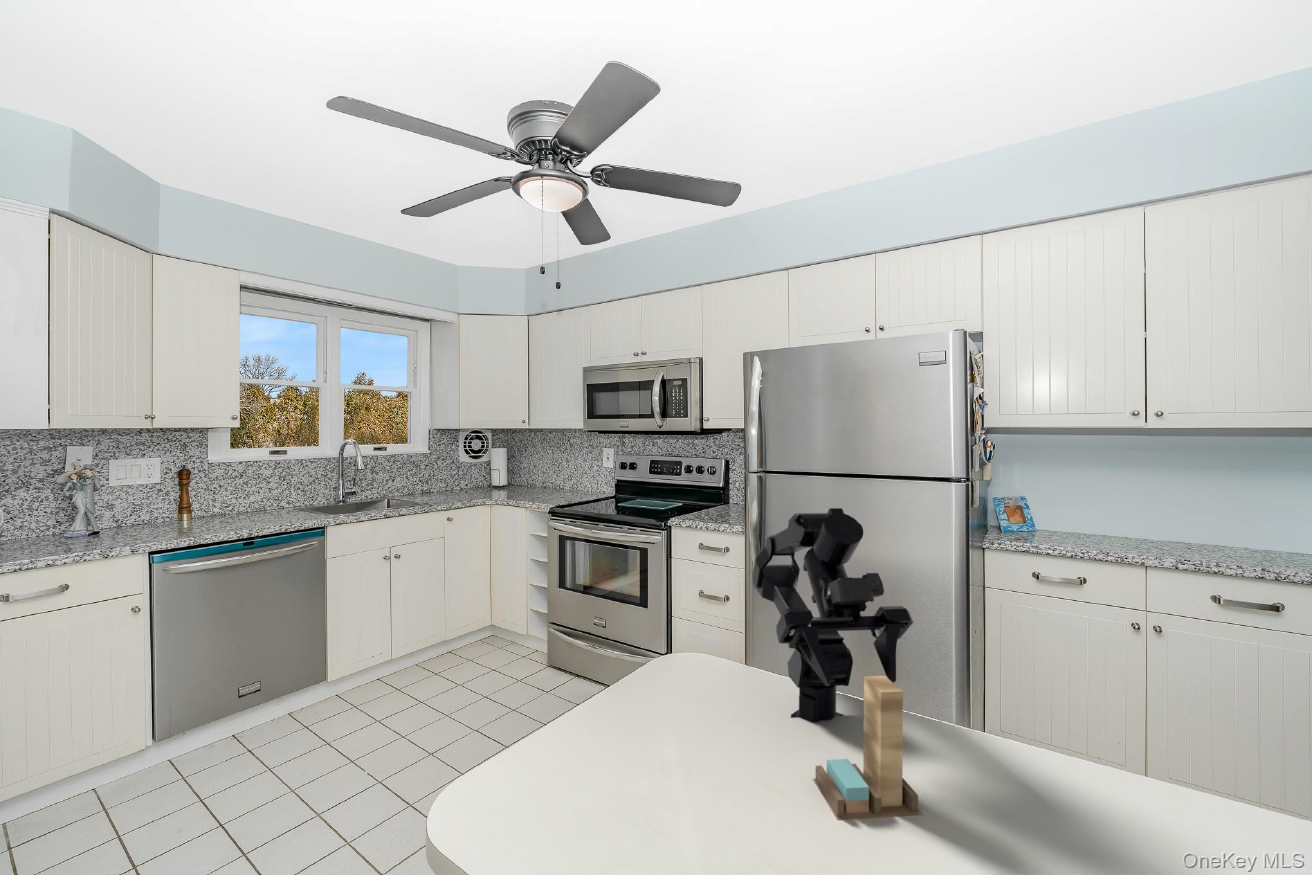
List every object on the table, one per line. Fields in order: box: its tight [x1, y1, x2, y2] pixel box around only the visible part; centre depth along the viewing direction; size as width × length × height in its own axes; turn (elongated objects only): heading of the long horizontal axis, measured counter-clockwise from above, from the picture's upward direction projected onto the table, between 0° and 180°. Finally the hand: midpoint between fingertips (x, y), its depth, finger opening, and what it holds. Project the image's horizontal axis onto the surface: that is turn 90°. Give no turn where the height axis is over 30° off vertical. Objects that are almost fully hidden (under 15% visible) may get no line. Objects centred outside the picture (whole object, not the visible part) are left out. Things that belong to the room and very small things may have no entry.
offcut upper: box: [826, 758, 869, 801], centre depth 71 cm, size 6×3×2 cm, turn 5°
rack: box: [812, 763, 924, 821], centre depth 71 cm, size 8×11×3 cm
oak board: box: [862, 675, 904, 807], centre depth 72 cm, size 4×3×14 cm, turn 5°
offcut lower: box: [826, 771, 869, 813], centre depth 71 cm, size 6×3×2 cm, turn 5°
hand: (861, 683), depth 78 cm, fingers open, 9 cm apart
